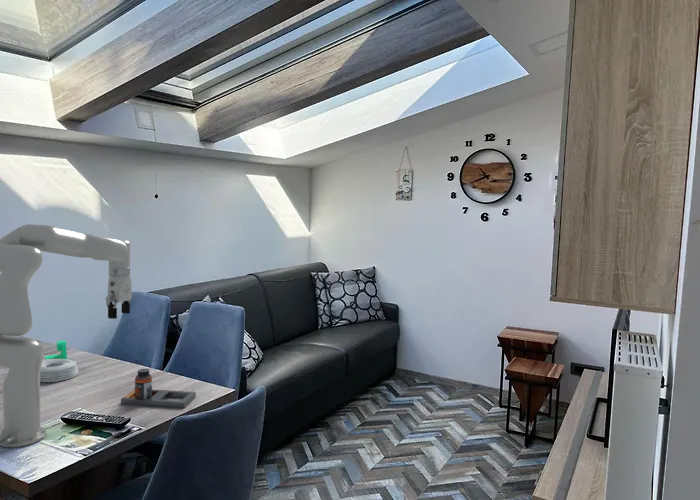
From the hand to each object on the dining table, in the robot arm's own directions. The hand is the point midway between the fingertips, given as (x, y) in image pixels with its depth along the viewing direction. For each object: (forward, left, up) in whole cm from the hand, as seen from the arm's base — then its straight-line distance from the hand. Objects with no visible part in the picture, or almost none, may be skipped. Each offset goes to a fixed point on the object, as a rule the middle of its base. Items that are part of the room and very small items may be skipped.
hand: (119, 315), depth 193 cm
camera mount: (+29, +45, -31) cm, 62 cm away
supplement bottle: (-6, -13, -30) cm, 34 cm away
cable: (+12, +35, -31) cm, 48 cm away
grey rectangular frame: (-6, -19, -30) cm, 36 cm away
